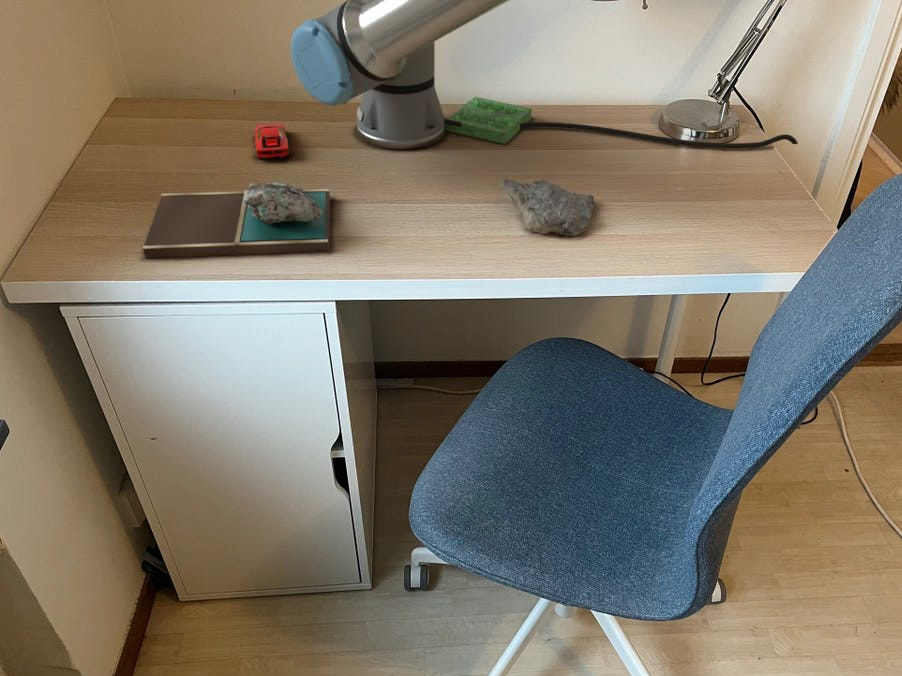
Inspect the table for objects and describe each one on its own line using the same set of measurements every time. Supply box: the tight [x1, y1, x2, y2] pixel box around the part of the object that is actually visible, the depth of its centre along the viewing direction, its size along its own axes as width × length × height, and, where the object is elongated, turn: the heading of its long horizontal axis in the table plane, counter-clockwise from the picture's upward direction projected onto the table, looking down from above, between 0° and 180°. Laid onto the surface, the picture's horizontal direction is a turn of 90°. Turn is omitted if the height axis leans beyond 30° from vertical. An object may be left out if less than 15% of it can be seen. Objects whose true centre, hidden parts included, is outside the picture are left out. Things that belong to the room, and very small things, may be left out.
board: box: [142, 188, 331, 259], centre depth 109 cm, size 24×15×2 cm, turn 97°
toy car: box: [254, 122, 291, 160], centre depth 128 cm, size 12×5×3 cm, turn 14°
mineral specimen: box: [243, 181, 323, 224], centre depth 107 cm, size 10×12×6 cm
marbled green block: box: [445, 96, 532, 145], centre depth 138 cm, size 11×12×2 cm
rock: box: [499, 178, 596, 237], centre depth 115 cm, size 14×4×15 cm
